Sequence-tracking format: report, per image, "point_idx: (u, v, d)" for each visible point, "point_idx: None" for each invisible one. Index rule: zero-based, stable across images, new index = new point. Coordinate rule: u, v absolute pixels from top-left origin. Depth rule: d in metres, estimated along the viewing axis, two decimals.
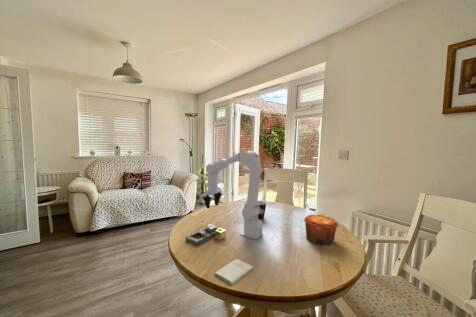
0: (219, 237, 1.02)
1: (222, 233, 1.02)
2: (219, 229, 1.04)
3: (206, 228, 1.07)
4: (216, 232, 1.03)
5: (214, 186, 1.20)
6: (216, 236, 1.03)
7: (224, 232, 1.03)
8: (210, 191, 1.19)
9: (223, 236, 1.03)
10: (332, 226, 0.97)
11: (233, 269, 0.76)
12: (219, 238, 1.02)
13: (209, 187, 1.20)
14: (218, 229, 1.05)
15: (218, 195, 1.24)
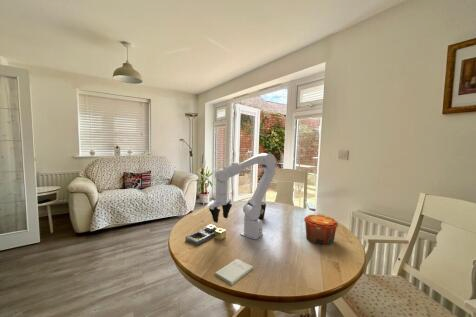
0: (219, 237, 1.02)
1: (222, 233, 1.02)
2: (219, 229, 1.04)
3: (206, 228, 1.07)
4: (216, 232, 1.03)
5: (223, 196, 1.00)
6: (216, 236, 1.03)
7: (224, 232, 1.03)
8: (218, 202, 1.00)
9: (223, 236, 1.03)
10: (332, 226, 0.97)
11: (233, 269, 0.76)
12: (219, 238, 1.02)
13: (217, 197, 1.00)
14: (218, 229, 1.05)
15: (227, 206, 1.05)
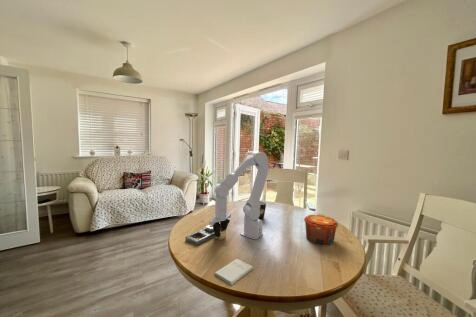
0: (219, 237, 1.02)
1: (222, 233, 1.02)
2: None
3: (206, 228, 1.07)
4: None
5: (223, 212, 1.01)
6: None
7: (224, 232, 1.03)
8: (218, 218, 1.01)
9: (223, 236, 1.03)
10: (332, 226, 0.97)
11: (233, 269, 0.76)
12: (219, 238, 1.02)
13: (217, 213, 1.01)
14: None
15: (225, 222, 1.04)
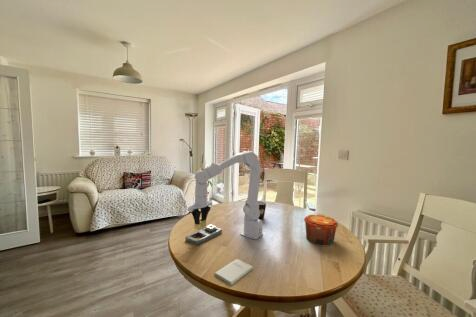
0: (198, 227, 0.99)
1: (202, 223, 0.99)
2: None
3: (206, 228, 1.07)
4: None
5: (202, 198, 0.98)
6: (196, 226, 1.00)
7: (204, 222, 1.00)
8: (198, 204, 0.97)
9: (203, 226, 1.00)
10: (332, 226, 0.97)
11: (233, 269, 0.76)
12: (199, 228, 0.99)
13: (196, 199, 0.98)
14: None
15: (206, 209, 1.01)
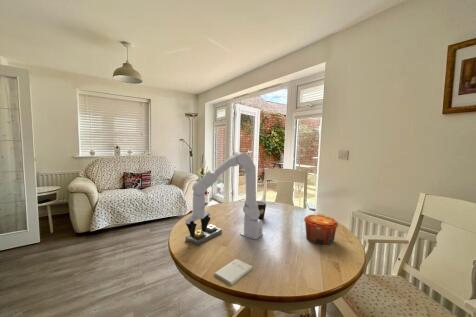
0: None
1: (200, 235, 0.99)
2: (197, 231, 1.01)
3: (206, 228, 1.07)
4: None
5: (200, 210, 0.98)
6: None
7: (202, 234, 1.00)
8: (195, 216, 0.98)
9: None
10: (332, 226, 0.97)
11: (232, 269, 0.76)
12: None
13: (194, 211, 0.98)
14: (196, 231, 1.02)
15: (206, 220, 1.03)
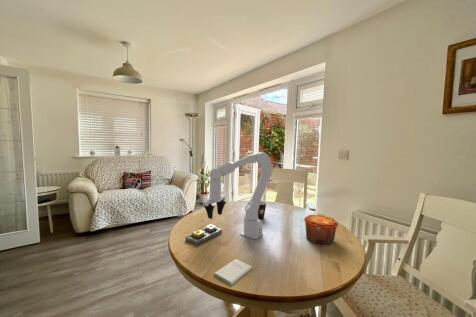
0: None
1: (200, 235, 0.99)
2: (197, 231, 1.01)
3: (206, 228, 1.07)
4: (194, 234, 1.00)
5: (217, 193, 1.05)
6: None
7: (202, 234, 1.00)
8: (213, 199, 1.05)
9: None
10: (332, 226, 0.97)
11: (232, 269, 0.76)
12: None
13: (211, 195, 1.05)
14: (196, 231, 1.02)
15: (221, 203, 1.10)
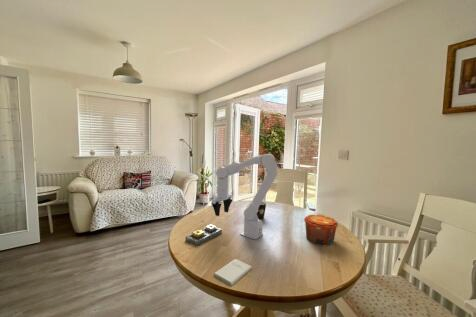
0: None
1: (200, 235, 0.99)
2: (197, 231, 1.01)
3: (206, 228, 1.07)
4: (194, 234, 1.00)
5: (224, 192, 1.09)
6: None
7: (202, 234, 1.00)
8: (220, 197, 1.09)
9: None
10: (332, 226, 0.97)
11: (232, 269, 0.76)
12: None
13: (219, 193, 1.09)
14: (196, 231, 1.02)
15: (228, 201, 1.14)
